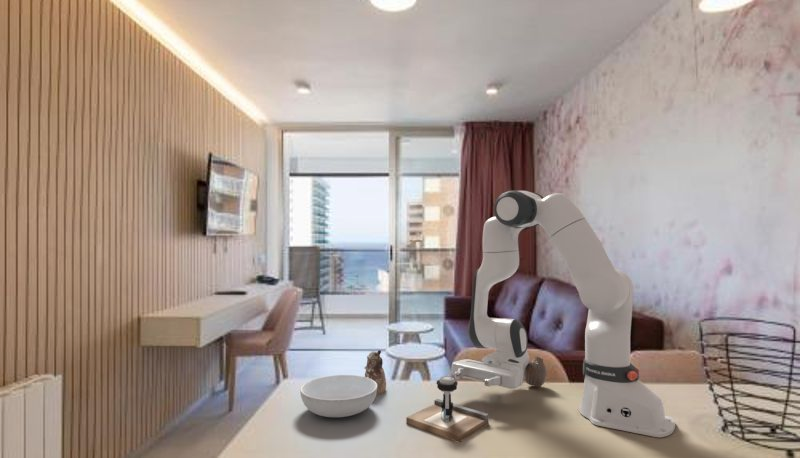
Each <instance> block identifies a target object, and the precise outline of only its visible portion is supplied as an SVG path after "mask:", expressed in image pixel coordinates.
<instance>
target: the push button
mask: <svg viewBox="0 0 800 458" xmlns="http://www.w3.org/2000/svg"><path fill="white" fill-rule="evenodd" d="M458 384H459V383H458V381H457V380H455V377H453V376H448V375H445V376H440V377H439V379H438V380H436V385H437V389H438V390H439V391H441V392H442V393H443V394H442V400H443V402H441V408H442V410H441V412H443V411H444V421H446V422H449V421H450V417H452V413H453V411H452V409H453V404H454V403H453V402H452V392H454V391H456V390H457V389H458Z"/></svg>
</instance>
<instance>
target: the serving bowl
mask: <svg viewBox="0 0 800 458" xmlns="http://www.w3.org/2000/svg"><path fill="white" fill-rule="evenodd" d="M299 391H300V398H301V401H302V402H303V405H304V406H305V408H306V409H307V410H309V412H311V413H313V414H316V416H317V415H318V416H320V417H326V418H345V417H351V416H355V415H358V414H360V413H362V412H364V411H365V410H367V409H368V408H369V407H370V406H371V405H372V404H373V402H374V401H375V398H376V396H377V394H376V393H377V383H376V382H375V381H374V380H372V379H369V378H367V377H365V376H362V375H354V374H336V375H326V376H321V377H317V378H314V379H311V380H308V381H307V382H305V383H304V384H303V385H301V386H300V389H299Z"/></svg>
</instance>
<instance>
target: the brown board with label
mask: <svg viewBox="0 0 800 458" xmlns="http://www.w3.org/2000/svg"><path fill="white" fill-rule="evenodd" d="M441 402H443V399H439V398H436V399H435V400H433V404H431V405H430V406H428V407H427V406H426V407H425V408H423V409H421V410H419V411H417V412H414V413H412V414H411V415H407V416H406V419H405V420H406V421H405V422H406V424H408V425H411V426H412V427H413V426H414V427H416V428H419V429H421V430H424V431H427V432H429V433H432V434H436V435H438V436H441V437H444V438H446V439H448V440H451V441H454V442H457V443H461V442H462V441H463V440H466V439H467V438H468V437H470V436H472V435H474V434H475V433H477V432H478V431H480V430H481V429H483V428H485V427H486V426H488V425H489V423H490V422H489V421H490V419H489V413H486V412H483V411H479V410H476V409H473V408H469V407H465V406H462V405H461V404H460V405H459V404H456V403H453V409H452V411H453V413H452V417H450V421H449V422H446V421H444V411H443V412H441V410H442V408H441Z"/></svg>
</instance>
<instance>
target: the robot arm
mask: <svg viewBox="0 0 800 458" xmlns="http://www.w3.org/2000/svg"><path fill="white" fill-rule="evenodd" d="M493 214H494V216H492V217H490V218H488V219H487V220H486V221H485V222H484V224H483V230H482V262H481V265H480V267H478V269H476V271H475V273H474V277H473V285H472V293H471V308H470V317H469V322H468V326H467V337H468V339H469V342H471V344H472V345H473V346H474V347H475V348H476V349H491V350H495V351H494V352H492V353H488V354H487V355H485V356H483V357H482V359H481V360H480V361H479V360H474V359H469V358H467V359H464V358H463V359H460V360H456V361H453V362H452V364H451V373H452V376H454V379H457V380H462V379H463V378H465V379H469V380H473V381H477V382H481V383H484V386H485V387H489V388H490V387H493V386H496V387H497V386H499V387H503V388H507V389H512V390H513V389H515V390H516V389H517V388H518V387H521V386H522V385H523V383H524V370H525V368H526V367H527V365H528V363H529V362H530V356H529V352H528V344H529V340H528V338H529V337H528V332H527V330H526V328H525V326H524V324H523V323H522V322H521V320H518V319H517V318H515V319H514V318H505V317H504V318H503V317H502V318H500V317H499V318H498V317H489V316H488V302H489V301H488V300H489V293H490V290H491V288H492V287H493V286H494V285H496V284H498V283H500V282H502V281H505V280H507V279H509V278H510V277H512V276H513V275H514V274H515V273H516V272H517V270H518V269H519V267H520V250H519V235H520V232H521V231H527V230H529V229H531V228H534V227H536V226H538V225H539V226H541V227H542V229H543V230H544V231H545V233H546V235H547V236H548V237H549V240H550V241H551V242H552V244H553V245H554V247H555V249H556V250H557V252H558V253H559V255H560V257H561V259H562V261H563V262H564V264H565V265H566V268H567V270H568V273H569V275H570V277H571V280H572V281H573V284H574V287H575V288H576V290H577V292H578V296H579V299H580V301H581V303H582V305H584V307H586V308H587V309H588V310H587V311H588V312H587V319H586V326H585V331H584V341H585V342H584V350H585V351H584V358H583V363H582V375H583V380H584V382H583V391H582V395H581V396H582V397H581V401H580V405H579V407H578V411H579V413H580V414H581V415H582V416H583V417H584V418H587V419H588V420H589V421H590V422H591V423H592V424H593V425H595V426H598V427H604V428H609V429H614V430H619V431H624V432H628V433H629V432H630V433H634V434H639V435H643V436H650V437H654V438H665V437H668V436H670V435H672V433H674V431H675V428H676V424H675V420H674V419H673V417H671V416H670V415H666V414H665V409H664V405H663V404H664V403H663V401H662V399H661V398H660V396H659V395H657V393H655V392H654V391H653V390H651V389H650V388H649V387H648V386H647V385H646V384H644V383H643V382H642V381H641V380H640V366H637V367H635V365H633V364H632V363H631V330H632V320H633V319H632V318H633V317H632V316H633V305H634V304H633V302H634V298H633V297H634V284H633V282H632V280H631V278H630V276H629V275H628V274H627V273H626V272H624V271H623V270H621V269H618V268H615V266H614V265H613V263H612V262H611V260H610V258H609V255H608V254H607V252H606V250H605V247H604V246H603V243H602V241H601V239H600V238H599V236H598V235H597V234H596V232H595V231H594V229H593V228H592V226H591V225H590V223H589V222H588V220H587V219H586V217H585V216H584V214H583V213H582V211H581V210H580V209H579V208H578V207H577V205H576V204H575V203H574V202H573V201H572V200H571V199H570V198H569V197H568V196H567V195H565V194H564V193H561V192H554V193H551V194H547V196H545V197H543V196H542V195H541V194H539V193H537V192H531V191H528V190H508V191H506V192H505V191H504V192H503V193H502V194H500V195H499V196H498V197H497V198H496V199H495V202H494V205H493Z"/></svg>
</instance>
